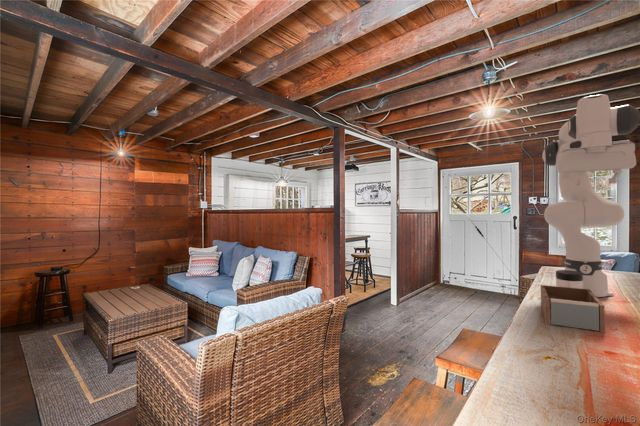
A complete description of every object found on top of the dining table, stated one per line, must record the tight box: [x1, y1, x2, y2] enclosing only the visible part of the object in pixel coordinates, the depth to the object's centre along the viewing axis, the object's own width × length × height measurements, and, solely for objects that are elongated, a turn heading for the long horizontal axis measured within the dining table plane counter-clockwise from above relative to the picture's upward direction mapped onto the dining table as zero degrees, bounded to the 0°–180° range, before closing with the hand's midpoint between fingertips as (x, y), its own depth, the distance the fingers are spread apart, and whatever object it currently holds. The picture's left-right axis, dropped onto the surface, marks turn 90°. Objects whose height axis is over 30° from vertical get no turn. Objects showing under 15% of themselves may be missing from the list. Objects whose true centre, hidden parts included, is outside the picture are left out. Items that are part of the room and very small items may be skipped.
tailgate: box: [550, 298, 600, 332], centre depth 94 cm, size 1×11×8 cm, turn 58°
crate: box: [540, 284, 606, 333], centre depth 102 cm, size 20×14×8 cm
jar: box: [555, 269, 583, 289], centre depth 117 cm, size 9×8×12 cm
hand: (594, 184), depth 102 cm, fingers open, 8 cm apart
